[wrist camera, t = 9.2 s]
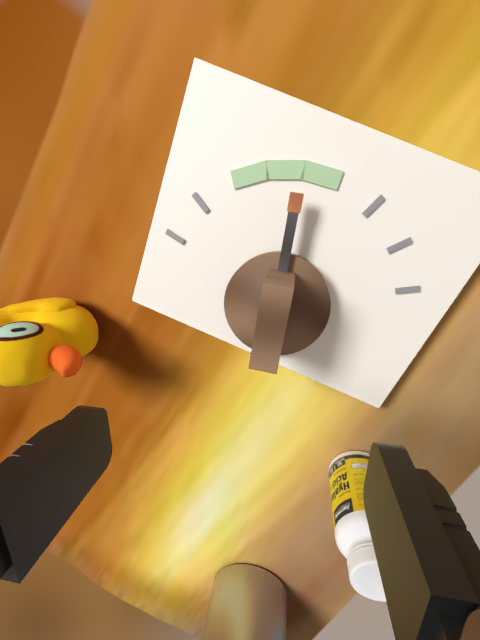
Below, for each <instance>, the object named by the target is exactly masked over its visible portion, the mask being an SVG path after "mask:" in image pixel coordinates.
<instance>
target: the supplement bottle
mask: <svg viewBox="0 0 480 640" xmlns="http://www.w3.org/2000/svg"><path fill="white" fill-rule="evenodd" d="M369 455H370V454H369V453H367V452H362V451H348V452H344V453H342V454H340V455H338V456H337V457H335V458H334V459H333V461H332V462H331V464H330V466H329V484H330V493H331V503H332V512H333V522H334V532H335V539H336V543H337V546H338V548H339V550H340V551H341V553H342V554H343V555H344V556H345V557H346V558H347V566H348V571H349V578H350V582H351V585H352V586H353V588H354V589H355V590H356V591H357V592H358V593H359V594H361V595H362V596H365V597H367V598H369V599H372V600H376V601H386V597H385V593H384V589H383V585H382V580H381V576H380V572H379V568H378V564H377V559H376V555H375V551H374V547H373V543H372V538H371V534H370V530H369V526H368V521H367V517H366V513H365V508H364V498H363V490H364V482H365V477H366V471H367V466H368V461H369ZM386 602H387V601H386Z"/></svg>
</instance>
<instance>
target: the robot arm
mask: <svg viewBox="0 0 480 640" xmlns="http://www.w3.org/2000/svg"><path fill="white" fill-rule="evenodd" d="M111 455H112V443H111V436H110V429H109V422H108V416H107V412H106V410H105V409H104V408H98V407H90V406H78V407H76V408H75V409H73V410H72V411H71V412H70V413H69V414H68V415H66V416H65V417H64V418H63V419H62V420H58V421H56V422H55V423H53V424H51V425H49V426H47V427H45V428H43V429H41V430H40V431H39V432H37V433H36V434H35V435H34V436H33V437H31V438H30V439H29V440H28V441H27V442H25V445H24V446H23V445H22V446H21V447H20V448H18V449H17V450H16V451H15V452H14V453H12V456H11V457H8V458H6V459H5V460H4V461H3V462H2V463H0V579H2V580H6V581H11V582H15V583H21V581H22V580H23V579H24V577H25V576H26V575H27V573H28V572H29V571H30V569H31V568H32V566H33V565H34V564H35V563H36V561H37V560H38V558H39V557H40V556H41V555H42V553H43V552H44V551H45V549H46V548H47V547H48V545H49V544H50V543H51V541H52V540H53V539H54V537H55V536H56V535H57V533H58V532H59V531H60V529H61V528H62V527H63V525H64V524H65V523H66V521H67V520H68V519H69V517H70V516H71V515H72V513H73V512H74V511H75V509H76V508H77V507H78V505H79V504H80V503H81V501H82V500H83V499H84V497H85V496H86V495H87V493H88V492H89V491H90V489H91V488H92V487H93V485H94V484H95V483H96V482H97V480H98V479H99V478H100V476H101V475H102V474H103V472H104V471H105V469H106V468H107V466H108V464H109V462H110V459H111ZM363 498H364V508H365V513H366V517H367V521H368V526H369V530H370V534H371V538H372V543H373V547H374V551H375V555H376V559H377V564H378V568H379V572H380V576H381V580H382V585H383V589H384V593H385V597H386V601H387V605H388V610H389V614H390V618H391V622H392V627H393V631H394V635H395V639H396V640H480V550H479V548H478V547H477V545H476V543H475V541H474V539H473V538H472V536H471V534H470V532H469V531H467V529H466V525H465V523H464V521H463V520H462V518H461V516H460V514H459V513H457V511H456V507H455V505H454V503H453V501H452V500H451V498H450V496H449V494H448V492H447V491H446V489H445V487H444V486H443V485H442V484H441V483H440V482H439V481H438V480H437V479H436V478H435V477H434V476H433V475H432V474H431V473H430V472H429V471H427V470H423V469H416V468H415V467H414V465H413V463H412V461H411V458H410V456H409V454H408V452H407V450H406V449H405V447H403V446H397V445H389V444H381V443H373V444H372V446H371V450H370V455H369V461H368V466H367V471H366V477H365V482H364V490H363ZM286 627H287V592H286V588H285V587H284V585H283V583H282V582H281V581H280V580H279V579H278V578H277V577H276V576H274V575H273V574H272V573H270V572H268V571H266V570H265V569H262V568H260V567H257V566H253V565H248V564H234V565H230V566H227V567H225V568H223V569H221V570H220V571H219V572H218V573H217V575H216V577H215V581H214V586H213V590H212V594H211V599H210V603H209V607H208V612H207V616H206V620H205V624H204V629H203V633H202V638H201V640H286Z"/></svg>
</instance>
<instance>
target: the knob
mask: <svg viewBox="0 0 480 640" xmlns="http://www.w3.org/2000/svg"><path fill="white" fill-rule="evenodd" d="M303 197H304V194H302V193H295V192H290V196H289V202H288V207H287V211H288V216H287V221H286V226H285V232H284V237H283V243H282V248H281V251H273V252H267V253H263V254H260V255H257V256H255V257H253V258H251V259H250V260H248V261H247V262H245V263H244V264H243V265H242V266H241V267H240V268H239V269H238V270H237V271H236V272H235V273H234V275H233V276H232V278H231V279H230V281H229V283H228V285H227V288H226V291H225V296H224V311H225V316H226V319H227V322H228V324H229V326H230V328H231V330H232V331H233V333H234V334H235V336H236V337H237V338H238V339H239V340H240V341H241V342H242V343H244V344H245V345H246V346H248V347H249V348H251V349H252V351H251V356H250V362H249V369H254V370H259V371H263V372H268V373H273V374H277V369H278V365H279V360H280V355H288V354H293V353H296V352H299V351H301V350H303V349H305V348H306V347H308V346H309V345H311V344H312V343H313V342H314V341H316V340H317V338H318V337H319V336H320V335H321V334H322V332H323V331H324V329H325V327H326V325H327V322H328V319H329V316H330V310H331V301H330V294H329V290H328V288H327V285H326V283H325V280H324V278H323V277H322V275H321V273H320V272H319V271H318V269H317V268H316V267H315V266H314V265H313V264H312V263H310V262H309V261H307V260H306V259H304V258H302V257H301V256H298V255H296V254H293V253H291V250H292V245H293V240H294V235H295V230H296V225H297V220H298V215H299V213H300V212H301V207H302V202H303Z"/></svg>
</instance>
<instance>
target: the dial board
mask: <svg viewBox="0 0 480 640" xmlns="http://www.w3.org/2000/svg"><path fill="white" fill-rule="evenodd" d="M290 192H295V193H302V194H304V197H303V202H302V207H301V212H300V213H299V215H298V220H297V225H296V230H295V235H294V240H293V245H292V250H291V253H293V254H296V255H298V256H301V257H302V258H304V259H306V260H307V261H309V262H310V263H312V264H313V265H314V266H315V267H316V268H317V269H318V271H319V272H320V273H321V275H322V277H323V278H324V280H325V283H326V285H327V288H328V290H329V294H330V301H331V310H330V316H329V319H328V322H327V325H326V327H325V329H324V331H323V332H322V334H321V335H320V336H319V337H318V338H317V340H316V341H314V342H313V343H312V344H311V345H309V346H308V347H306V348H305V349H303V350H301V351H299V352H296V353H293V354H288V355H280V360H279V365H281V366H283V367H285V368H287V369H290V370H292V371H294V372H297V373H299V374H301V375H304V376H306V377H308V378H310V379H313V380H315V381H317V382H320V383H322V384H324V385H326V386H329V387H331V388H333V389H336V390H338V391H340V392H342V393H345V394H347V395H349V396H352V397H354V398H356V399H358V400H361V401H363V402H365V403H368V404H370V405H372V406H375V407H377V408H379V407H380V406H381V404H382V403H383V402H384V400H385V399H386V397H387V396H388V394H389V393H390V392H391V390H392V389H393V387H394V386H395V384H396V383H397V381H398V380H399V379H400V377H401V376H402V374H403V373H404V371H405V370H406V369H407V367H408V366H409V364H410V363H411V361H412V360H413V359H414V357H415V356H416V354H417V353H418V351H419V350H420V348H421V347H422V346H423V344H424V343H425V341H426V340H427V338H428V337H429V336H430V334H431V333H432V331H433V330H434V328H435V327H436V326H437V324H438V323H439V321H440V320H441V318H442V317H443V315H444V314H445V313H446V311H447V310H448V308H449V307H450V305H451V304H452V303H453V301H454V300H455V298H456V297H457V295H458V294H459V292H460V291H461V290H462V288H463V287H464V285H465V284H466V282H467V281H468V280H469V278H470V277H471V275H472V274H473V272H474V271H475V270H476V268H477V267H478V265H479V264H480V172H479V171H476V170H474V169H471V168H469V167H466V166H464V165H461V164H459V163H456V162H454V161H451V160H449V159H446V158H444V157H441V156H439V155H436V154H434V153H431V152H429V151H427V150H424V149H422V148H419V147H417V146H414V145H412V144H409V143H407V142H404V141H402V140H399V139H397V138H394V137H392V136H389V135H387V134H384V133H382V132H379V131H377V130H374V129H372V128H369V127H367V126H364V125H362V124H359V123H357V122H354V121H352V120H349V119H347V118H344V117H342V116H339V115H337V114H334V113H332V112H329V111H327V110H324V109H322V108H319V107H317V106H314V105H312V104H309V103H307V102H304V101H302V100H299V99H297V98H295V97H292V96H290V95H287V94H285V93H282V92H280V91H277V90H275V89H272V88H270V87H267V86H265V85H262V84H260V83H257V82H255V81H252V80H250V79H247V78H245V77H242V76H240V75H237V74H235V73H232V72H230V71H227V70H225V69H222V68H220V67H217V66H215V65H212V64H210V63H207V62H205V61H202V60H200V59H197V58H194V62H193V66H192V70H191V73H190V77H189V81H188V85H187V89H186V93H185V97H184V101H183V104H182V108H181V112H180V116H179V120H178V124H177V128H176V132H175V135H174V139H173V143H172V147H171V151H170V155H169V159H168V163H167V166H166V170H165V174H164V178H163V182H162V186H161V190H160V194H159V197H158V201H157V205H156V209H155V213H154V217H153V221H152V225H151V228H150V232H149V236H148V240H147V244H146V248H145V252H144V256H143V259H142V263H141V267H140V271H139V275H138V279H137V283H136V287H135V290H134V294H133V298H132V301H134V302H136V303H139V304H141V305H143V306H146V307H148V308H150V309H152V310H155V311H157V312H159V313H162V314H164V315H166V316H168V317H171V318H173V319H175V320H178V321H180V322H182V323H184V324H187V325H189V326H191V327H194V328H196V329H198V330H200V331H203V332H205V333H207V334H210V335H212V336H214V337H217V338H219V339H221V340H223V341H226V342H228V343H230V344H233V345H235V346H237V347H239V348H242V349H244V350H246V351H249V352H251V351H252V349H251V348H249V347H248V346H246V345H245V344H244V343H242V342H241V341H240V340H239V339H238V338H237V337H236V336H235V334H234V333H233V331H232V330H231V328H230V326H229V324H228V322H227V319H226V316H225V311H224V296H225V291H226V288H227V285H228V283H229V281H230V279H231V278H232V276H233V275H234V273H235V272H236V271H237V270H238V269H239V268H240V267H241V266H242V265H243V264H244V263H245V262H247V261H248V260H250V259H251V258H253V257H255V256H257V255H260V254H263V253H267V252H273V251H281V248H282V243H283V237H284V232H285V226H286V221H287V216H288V211H287V207H288V202H289V196H290Z"/></svg>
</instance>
